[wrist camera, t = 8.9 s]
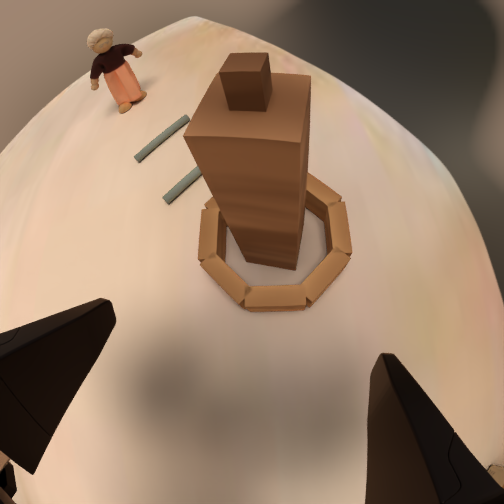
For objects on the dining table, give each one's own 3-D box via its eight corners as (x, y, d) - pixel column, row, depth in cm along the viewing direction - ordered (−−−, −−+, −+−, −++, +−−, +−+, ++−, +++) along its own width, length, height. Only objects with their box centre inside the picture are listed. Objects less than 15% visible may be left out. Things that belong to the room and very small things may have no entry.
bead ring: (277, 341, 18) (275, 340, 15) (184, 247, 21) (172, 235, 19) (368, 239, 19) (377, 225, 17) (272, 166, 22) (270, 147, 20)
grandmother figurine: (122, 121, 28) (74, 48, 16) (108, 116, 29) (63, 50, 18) (162, 84, 30) (129, 11, 18) (146, 81, 31) (113, 15, 19)
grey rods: (169, 205, 22) (165, 200, 22) (130, 165, 25) (127, 160, 24) (234, 148, 24) (232, 143, 23) (186, 118, 26) (184, 113, 25)
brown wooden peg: (295, 270, 19) (300, 98, 6) (246, 261, 20) (164, 99, 6) (303, 224, 20) (310, 40, 7) (257, 217, 21) (207, 41, 7)
